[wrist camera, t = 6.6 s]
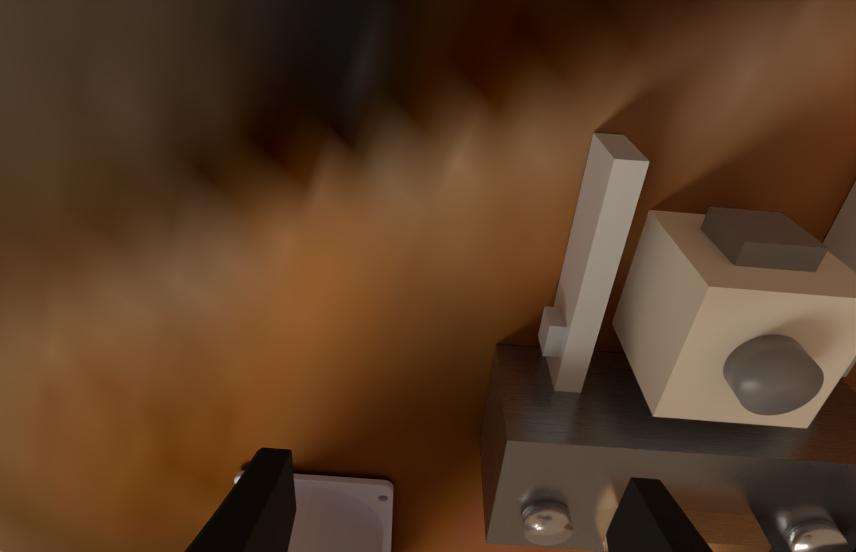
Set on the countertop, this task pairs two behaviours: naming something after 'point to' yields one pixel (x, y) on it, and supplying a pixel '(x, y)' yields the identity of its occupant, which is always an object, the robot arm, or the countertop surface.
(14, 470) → the countertop surface
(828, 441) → the block
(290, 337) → the countertop surface
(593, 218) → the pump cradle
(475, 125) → the countertop surface
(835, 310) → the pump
